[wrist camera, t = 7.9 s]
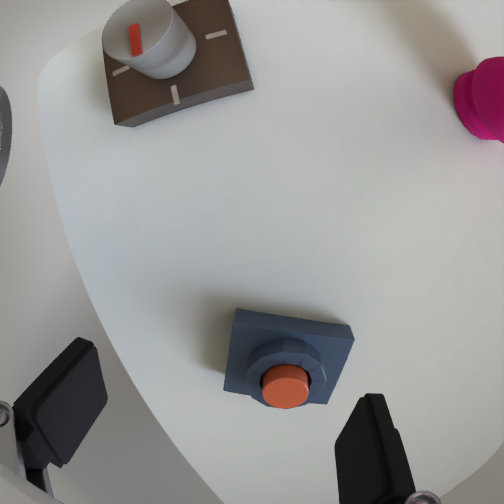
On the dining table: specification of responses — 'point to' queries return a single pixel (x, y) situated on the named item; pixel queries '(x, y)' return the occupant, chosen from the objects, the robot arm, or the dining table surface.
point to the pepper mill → (482, 99)
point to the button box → (285, 353)
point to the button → (285, 386)
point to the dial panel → (192, 77)
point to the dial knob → (149, 38)
